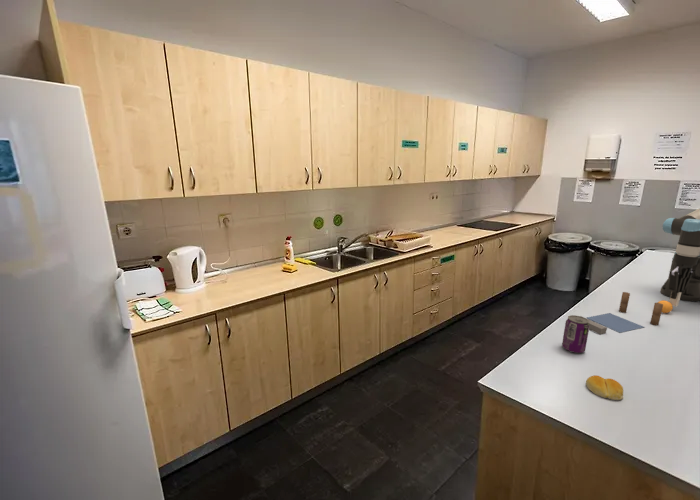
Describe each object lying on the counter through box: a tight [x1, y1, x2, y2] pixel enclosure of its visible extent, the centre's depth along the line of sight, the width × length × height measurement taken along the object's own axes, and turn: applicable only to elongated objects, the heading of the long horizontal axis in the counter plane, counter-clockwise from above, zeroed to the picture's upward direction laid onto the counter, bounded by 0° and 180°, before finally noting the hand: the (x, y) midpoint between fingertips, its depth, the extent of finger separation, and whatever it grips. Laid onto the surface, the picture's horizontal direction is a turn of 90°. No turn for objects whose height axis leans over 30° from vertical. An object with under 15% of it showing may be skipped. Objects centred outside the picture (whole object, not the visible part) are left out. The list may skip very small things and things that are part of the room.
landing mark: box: [586, 312, 645, 334], centre depth 141 cm, size 14×14×1 cm
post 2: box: [649, 302, 663, 326], centre depth 139 cm, size 3×3×9 cm
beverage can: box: [561, 314, 590, 354], centre depth 121 cm, size 7×7×12 cm
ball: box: [657, 299, 674, 314], centre depth 149 cm, size 6×6×6 cm
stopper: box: [580, 315, 608, 335], centre depth 137 cm, size 3×11×2 cm, turn 18°
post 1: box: [618, 291, 631, 314], centre depth 150 cm, size 3×3×9 cm
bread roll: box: [585, 375, 624, 401], centre depth 100 cm, size 8×9×4 cm
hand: (673, 305), depth 152 cm, fingers closed
